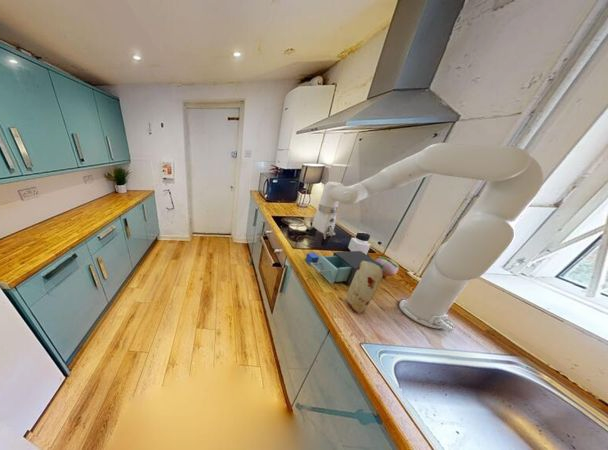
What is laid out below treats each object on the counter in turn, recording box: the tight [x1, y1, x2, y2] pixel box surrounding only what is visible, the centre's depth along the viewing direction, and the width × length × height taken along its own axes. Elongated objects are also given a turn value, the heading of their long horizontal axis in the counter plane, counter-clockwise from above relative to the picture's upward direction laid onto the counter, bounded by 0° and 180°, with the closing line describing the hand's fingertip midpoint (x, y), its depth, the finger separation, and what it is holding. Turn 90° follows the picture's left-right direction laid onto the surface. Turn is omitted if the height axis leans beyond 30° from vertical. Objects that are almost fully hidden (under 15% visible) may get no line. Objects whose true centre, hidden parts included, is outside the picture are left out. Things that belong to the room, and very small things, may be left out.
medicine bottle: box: [347, 231, 372, 256], centre depth 114 cm, size 7×7×12 cm
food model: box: [346, 261, 383, 314], centre depth 74 cm, size 10×7×20 cm
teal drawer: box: [309, 254, 352, 284], centre depth 93 cm, size 19×11×8 cm, turn 97°
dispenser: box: [332, 251, 384, 286], centre depth 94 cm, size 15×13×10 cm
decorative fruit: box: [374, 256, 400, 277], centre depth 95 cm, size 9×8×10 cm
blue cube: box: [305, 252, 320, 265], centre depth 104 cm, size 4×4×4 cm
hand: (317, 240), depth 100 cm, fingers open, 9 cm apart
